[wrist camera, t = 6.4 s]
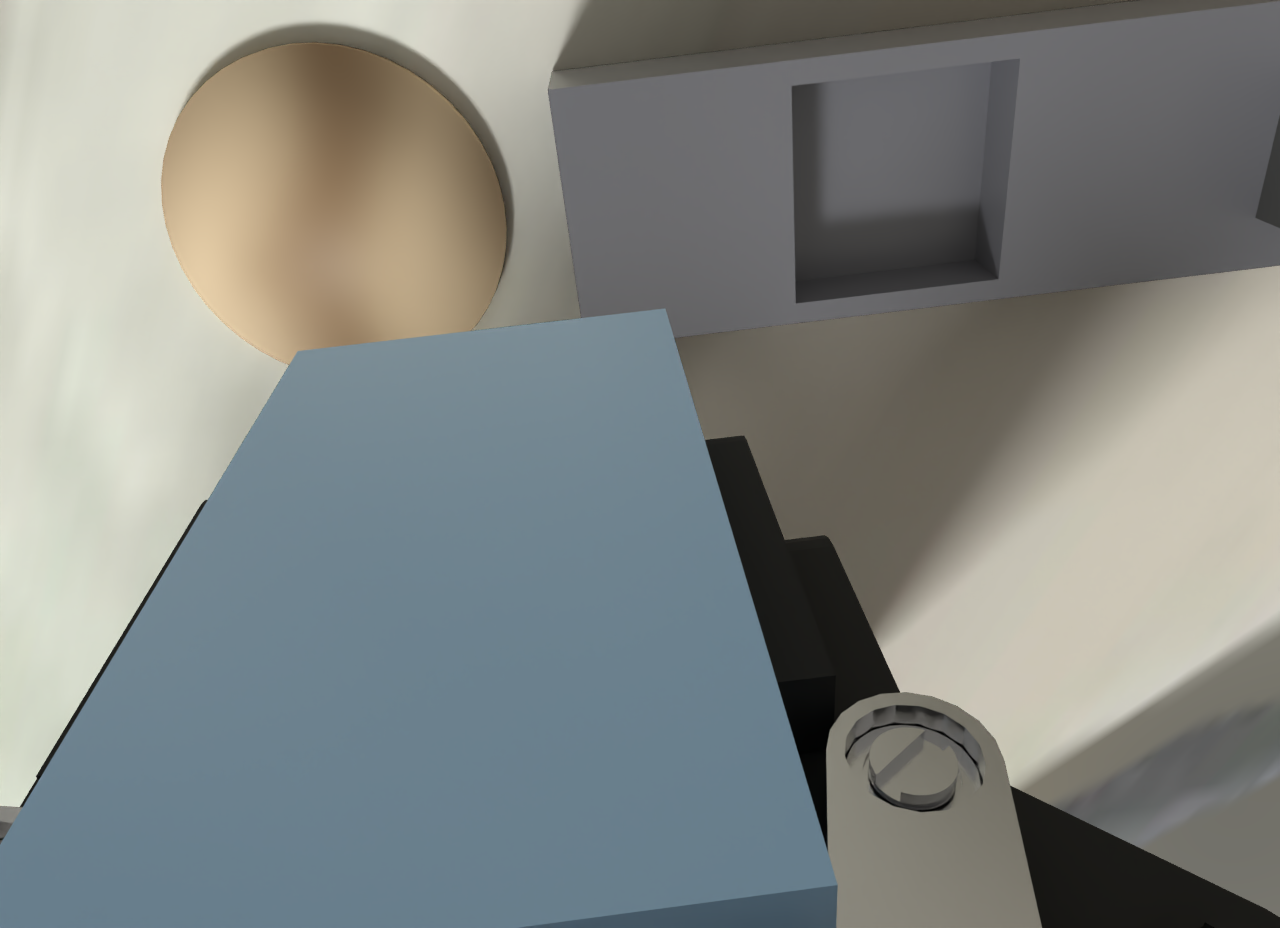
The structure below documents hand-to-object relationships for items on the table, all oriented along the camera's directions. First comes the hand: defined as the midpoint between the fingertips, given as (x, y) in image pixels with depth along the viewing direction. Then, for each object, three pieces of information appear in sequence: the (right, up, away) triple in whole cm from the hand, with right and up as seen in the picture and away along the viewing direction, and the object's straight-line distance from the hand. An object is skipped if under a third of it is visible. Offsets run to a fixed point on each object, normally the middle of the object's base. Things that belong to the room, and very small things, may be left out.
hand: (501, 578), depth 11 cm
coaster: (-7, +9, +17) cm, 20 cm away
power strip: (+17, +12, +17) cm, 26 cm away
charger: (0, +1, +2) cm, 2 cm away
